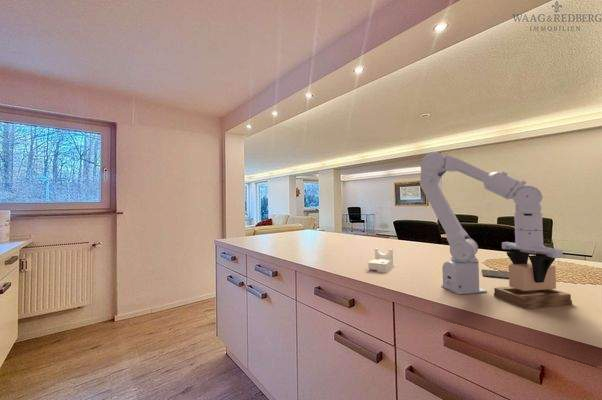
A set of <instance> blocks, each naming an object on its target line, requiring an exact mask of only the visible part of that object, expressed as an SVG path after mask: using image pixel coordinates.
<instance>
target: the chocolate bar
mask: <svg viewBox="0 0 602 400" xmlns="http://www.w3.org/2000/svg"><path fill="white" fill-rule="evenodd" d="M481 274H482V277H484V278H485V277H486V278H494V279H505V280H509V271H504V270H503V271H502V270H494V269H484V268H483V269H481Z"/></svg>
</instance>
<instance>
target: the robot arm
mask: <svg viewBox="0 0 602 400" xmlns="http://www.w3.org/2000/svg"><path fill="white" fill-rule="evenodd" d="M419 166H420V180H419V186H420V188H421V189H422V192H423V193H424V195H425V197H426V199H427V200H428V203H429V205H430V206H431V209H432V210H433V212H434V214H435V215H436V217H437V219H438V222H439V223H440V224H441V226H442V229H443V230H444V232H445V234H446V241H447V242H448V245H449V253H450V256H451V257H450V260H448V261H444V262H443V263H442V284H441V287H442V288H444V289H447V290H449V291H451V292H453V293H456V294H458V295H465V294H466V295H467V294H478V293H487V292H488V290H487V289H484V288H482V287H480V267H479V266H480V264H479V263H480V262H479V258H477V257H476V255H477V253H478V251H479V245H478V243H477V241H475V240H474V239H473V238H471V237H470V235H469V234H468V232H467V231H466V230H465V228H463V226H462V225H461V223H460V221H459V219H458V217H457V216H456V214H455V212H454V210H453V209H452V206H450V203H449V201H448V200H447V198H446V197H445V195H444V192H443V191H442V189H441V188H440V186H439V183H440V182H441V178H442V177H443V175H444V174H445V173H446V172H449V173H452V172H453V173H455V172H458V173H460V174H463V175H465V176H468V177H470V178H472V179H474V180H476V181H479V182H481V183H483V186H484V189H485V190H487V191H489V192H491V193H494V194H496V195H498V196H500V197H502V198H503V199H506V200H510V199H512V201H513V202H514V203H515V204H514V206H515V212H514V216H513V217H514V237H515V238H514V239H515V242H510V241H503V242H501V249H502V250H509V251H506V256H507V257H508V258H509V259H510V261H511V264H528V263H529V262H528V260H529V261H530V263H532V267H533V274H534V280H535V282H537V283H541V282H544V280H545V276H546V273H547V271H548V269H549V267H550V265H552V263H554V262H555V260H556V259H563V257H564V254H563V249H558V248H554V247H549V246H545V245H544V234H543V233H544V231H543V230H544V229H543V213H542V212H541V211H542V205H541V202H542V200H543V195H542V192H541V190H539V189H538V188H537V187H535V186H532V185H526V184H527V181H525V180H522V181H520V180H517V179H516V178H514V177H511V176H509V175H508V173H507V172H505V171H502V172H499V171H495V172H494V171H493V172H490V173H489V172H488V171H485V170H483V169H481V168H479V167H477V166H475V165H472V164H471V163H468V162H466V161H464V160H462V159H459V157H458V158H457V157H454V156H451V155H447V154H442V153H440V152H438V151H431V152H428V153H426V154H425V156H424V157H423V159H422V161H421V163H420V164H419ZM530 254H533V255H530Z"/></svg>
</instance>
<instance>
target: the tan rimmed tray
mask: <svg viewBox="0 0 602 400" xmlns="http://www.w3.org/2000/svg"><path fill="white" fill-rule="evenodd" d="M493 290H494V291H493V297H495V298H497V299H499V300H501V301H505V302H507V303H510V304H512V305H514V306H518V307H519V308H522V309H525V310H526V309H527V310H528V309H538V308H549V307H550V308H551V307H561V306H568V305H573V300H572V298H571V297H572V296H571V295H572V294H571V293H567V292H564V291H560V290H556V289H544V290H530V291H523V290H519V289H516V288H513V287H510V286H501V287H500V286H498V287H494V289H493Z"/></svg>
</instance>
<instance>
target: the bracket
mask: <svg viewBox="0 0 602 400" xmlns="http://www.w3.org/2000/svg"><path fill="white" fill-rule="evenodd" d="M393 249H394V248H389V249H388V252H387V253H383V252H381V251H380V250H379V247H375V248H374V258H373V259H371V260H370V261H368V263H367V267H368V270H375V271H376V272H378V273H388V272H389V271H390V269H392V267H393V266H394V254H393V253H394V250H393Z"/></svg>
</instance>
